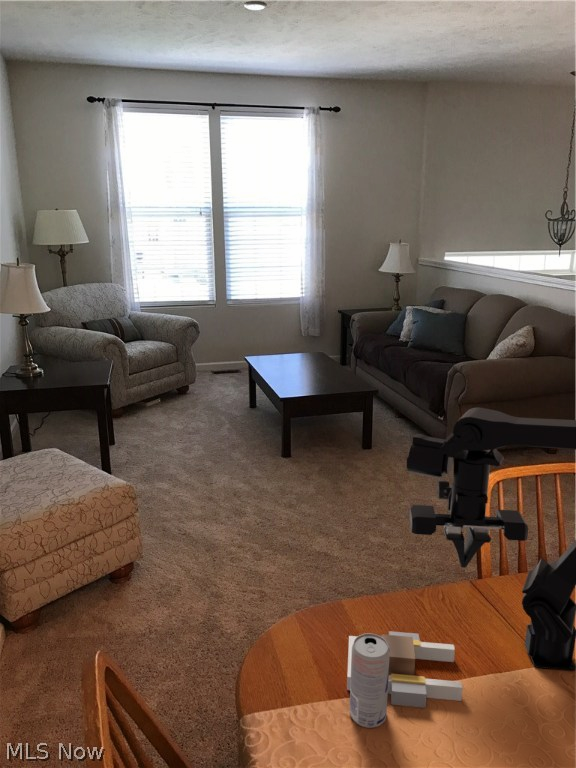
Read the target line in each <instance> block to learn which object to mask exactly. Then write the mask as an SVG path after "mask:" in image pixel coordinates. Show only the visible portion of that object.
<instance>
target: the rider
mask: <svg viewBox="0 0 576 768" xmlns="http://www.w3.org/2000/svg"><path fill="white" fill-rule="evenodd" d="M380 636H381V637H383V638H384V639H385V640H386V641H387V643H388V646H389V650H390V658H389V675H391V674H402V675H413V676H415V670H416V669H415V667H416V659H415V652H414V644H413V637H408V636H396V635H389V634H384V633H383V634H381V635H380Z"/></svg>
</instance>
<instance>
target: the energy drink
mask: <svg viewBox="0 0 576 768" xmlns="http://www.w3.org/2000/svg"><path fill="white" fill-rule="evenodd" d="M389 658H390V650H389V646H388V643H387V641H386V640H385V639H384V638H383V637H381V635H378V634H376V633H369V632H367V633H362V634H360V635H358V637H356V639H355V640H354V643H353V645H352V656H351V686H350V690H349V691H350V693H349V715H350V717H351V719H352V720H353V721H354V723H355V724H357V725H359V726H361V727H363V728H366V729H367V728H368V729H373V728H377V727H379V726H381V725H382V724H383V723H384V722H385V721H386V720H387V719H386V718H387V712H388V696H389V694H388V677H389Z"/></svg>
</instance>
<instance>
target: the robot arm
mask: <svg viewBox="0 0 576 768" xmlns="http://www.w3.org/2000/svg"><path fill="white" fill-rule="evenodd" d="M513 446H516V447H518V446H519V447H520V446H521V447H531V448H546V449H547V448H548V449H560V450H576V419H557V418H538V417H537V418H535V417H518V416H512V415H510V414H507V413H504V412H502V411H499V410H494V409H491V408H490V409H489V408H484V407H472V408H469V409H468V410H466V411H465V413H464V414H462V416H461V417H460V418H459V419H458V420H457V421H456V422H455V424H454V426H453V430H452V432H451V433H450V434H449V435H448V436H447V437H446V438H445V439H443V438H437V437H434V436H433V437H432V436H428V435H426V434H422V433H416V434H414V436H413V437H412V443H411V445H410V448H409V451H408V456H407V457H406V468H407V469H406V470H407V472H409V473H412V474H416V475H422V476H425V477H431V478H435V479H440V480H437V486H436V497H437V499H439V500H446V503H447V504H446V505H447V506H446V508H447V511H450V512H449V514H448V513H447V514H446V513H436V511H435V509H434V505H426V504H425V505H423V504H422V505H421V504H413V505H411V507H410V509H409V525H410V531H411V533H412V534H413V535H421V536H422V535H425V536H426V535H427V536H432V535H433V534H435V533H436V531H437V526H441V527H442V529H443V533H444V536H445V540H447V541H452V543H453V546H454V548H455V550H456V554H457V557H458V561H459V565H460V568H464V569H465V568H467V566H468V565H469V563H471V560H472V559H473V557H474V556H475V555H476V554H477V552H478V551H479V550H480V549H481V548H482V546H484V544H487V543H488V544H489V543H491V542H492V538H491V536H490V532H491V530H492V529H493V530H503V531H502V532H503V533H502V535H503V536H504V537H505V538H506V539H507V540H508V541H522V542H525V541H527V540H528V534H529V527H528V524H527V521H526V520H525V518H524V517H523V515H522V513H521V512H520V511H519V510H513V509H512V510H511V509H510V510H509V509H497V510H496V513H495V514H496V515H495V516H487V515H486V512H487V504H488V500H489V497H488V493H489V492H488V490H489V482H490V481H489V480H490V469H491V466H493V467H496V468H497V467H501V464H502V463H503V461H504V459H505V456H504V455H502V454H501V452H500V451H499V450H498V449H502V448H505V447H513ZM452 467H453V471H452ZM451 471H452V481H451V485H450V482H449V481H447V480H441V479H443V477H444V476H445V474H446V475H450V473H451ZM463 528H466V529H467V532H466V538H465V536H464V533H463ZM524 582H525V583H524V585H523V588H522V591H521V593H522V594H523V596H522V599H521V605H522V609H523V611H524V613H525V614H526V615H527V616H528V618H529V619H530V624H527V626H526V631H525V639H524V646H525V649H526V653H527V654H528V656H529V657H530V659H531V662H532V664H533V666H534V667H535V668H541V669H552V670H553V669H555V670H564V671H573V672H574V671H576V663H575V661H574V652H575V646H576V627H575V620H576V602H575V601H574V600H573V598H572V597H571V596H572V593H573V592H574V590H575V587H576V539H575V540H573V542H572V543H571V544H570V545H569V546H568V548H567V549H566V550H565V551H564V552H563V553H562V554H561V555H560V556H559V558H557V559H556V560H554V561H552V562H547V561H546V560H545V559H544V558H542V557H541V558H540V560H539V562H538V563H537V565H536V567H535V568H533V569H531V570H530V571H528V573H527V576H526V579H525V581H524Z"/></svg>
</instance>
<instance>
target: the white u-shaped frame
mask: <svg viewBox="0 0 576 768" xmlns="http://www.w3.org/2000/svg"><path fill="white" fill-rule="evenodd" d="M388 635H396V636H408V637H413V644H414V652H415V660H416V659H417V660H424V661H425V660H426V661H427V660H428V661H437V662H449V663H454V662H455V650H456V649H455V648H456V647H455V645H454V644H452V643H451V644H450V643H440V642H439V643H438V642H437V643H436V642H428V641H421V639H420V633H413V632H402V631H401V632H400V631H390V630H389V631H388ZM358 636H359V635H358ZM358 636H355V635H349V636H348V650H347V651H348V654H347V656H348V657H347V674H346V675H347V677H346V678H347V681H346V690H347V691H350V686H351V656H352V645H353V643H354V640H355V639H356V637H358ZM463 687H464V686H463V683H462V681H457V680H455V681H454V680H445V679H434V678H426V677H425V676H424V675H423V676H422V675H414V676H413V675H402V674H391V675H389V677H388V695H390V699H391V700H390V702H391V705H393V706H404V707H413V708H414V707H415V708H426V706H427V699H436V700H437V699H438V700H448V701H457V702H458V701H459V702H462V697H463Z"/></svg>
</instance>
